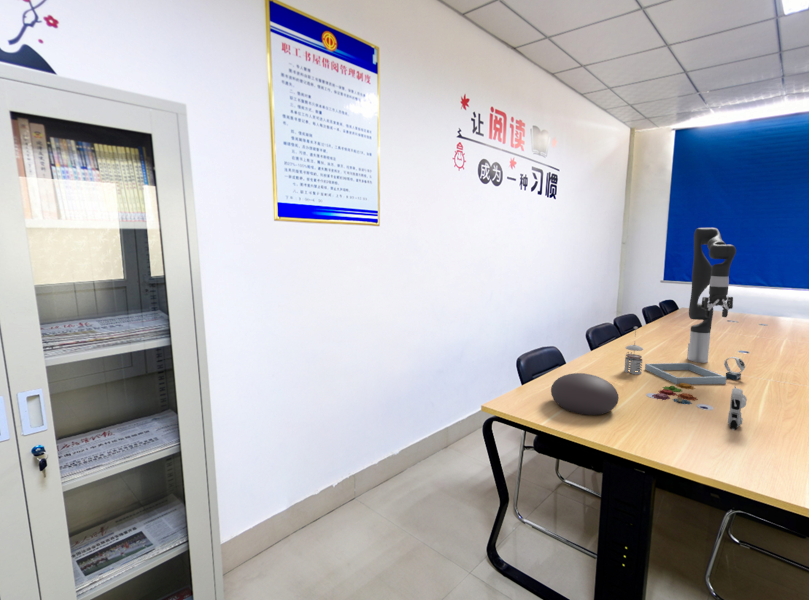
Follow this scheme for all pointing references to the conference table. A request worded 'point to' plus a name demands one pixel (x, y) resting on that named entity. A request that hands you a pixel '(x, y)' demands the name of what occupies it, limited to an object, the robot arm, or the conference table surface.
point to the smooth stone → (584, 394)
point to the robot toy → (736, 408)
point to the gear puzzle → (670, 391)
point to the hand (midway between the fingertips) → (715, 317)
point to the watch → (732, 374)
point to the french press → (633, 359)
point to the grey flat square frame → (708, 379)
